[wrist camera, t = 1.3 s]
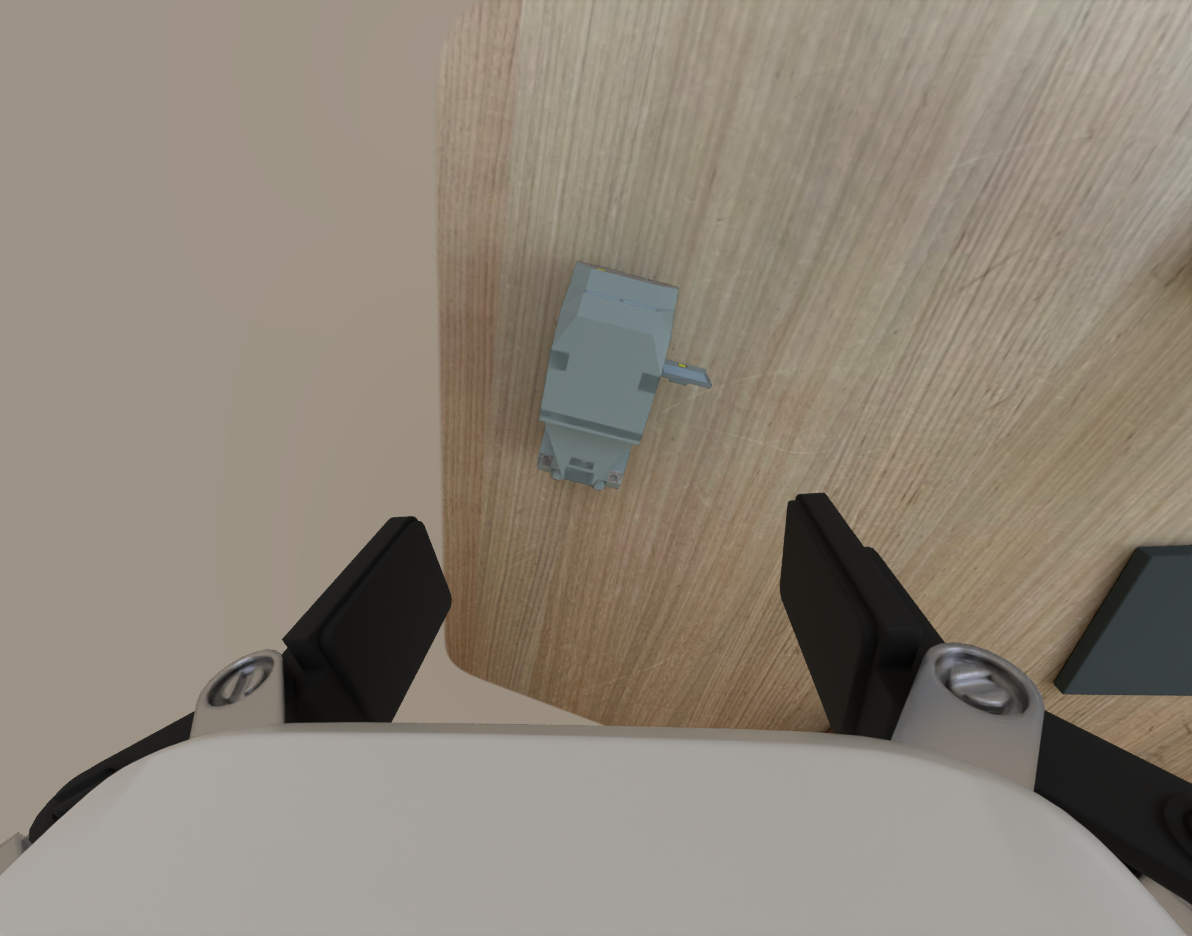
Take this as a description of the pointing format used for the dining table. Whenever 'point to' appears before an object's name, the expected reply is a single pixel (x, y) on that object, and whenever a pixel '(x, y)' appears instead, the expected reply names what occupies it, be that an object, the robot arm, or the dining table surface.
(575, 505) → the dining table surface
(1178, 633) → the mat
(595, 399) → the toy car
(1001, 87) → the dining table surface
